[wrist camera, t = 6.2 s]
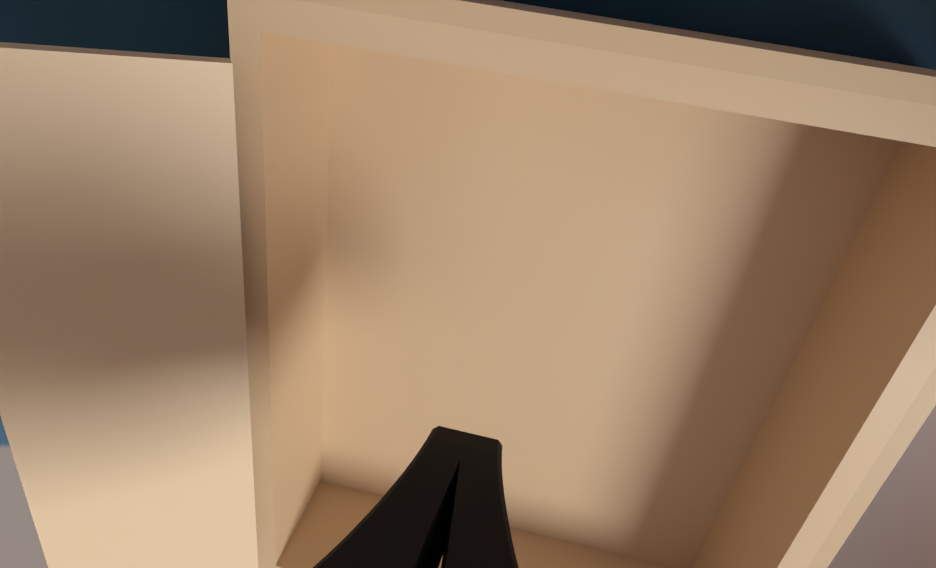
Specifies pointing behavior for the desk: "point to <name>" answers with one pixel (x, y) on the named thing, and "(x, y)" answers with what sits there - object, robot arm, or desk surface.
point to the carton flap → (125, 307)
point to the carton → (580, 275)
